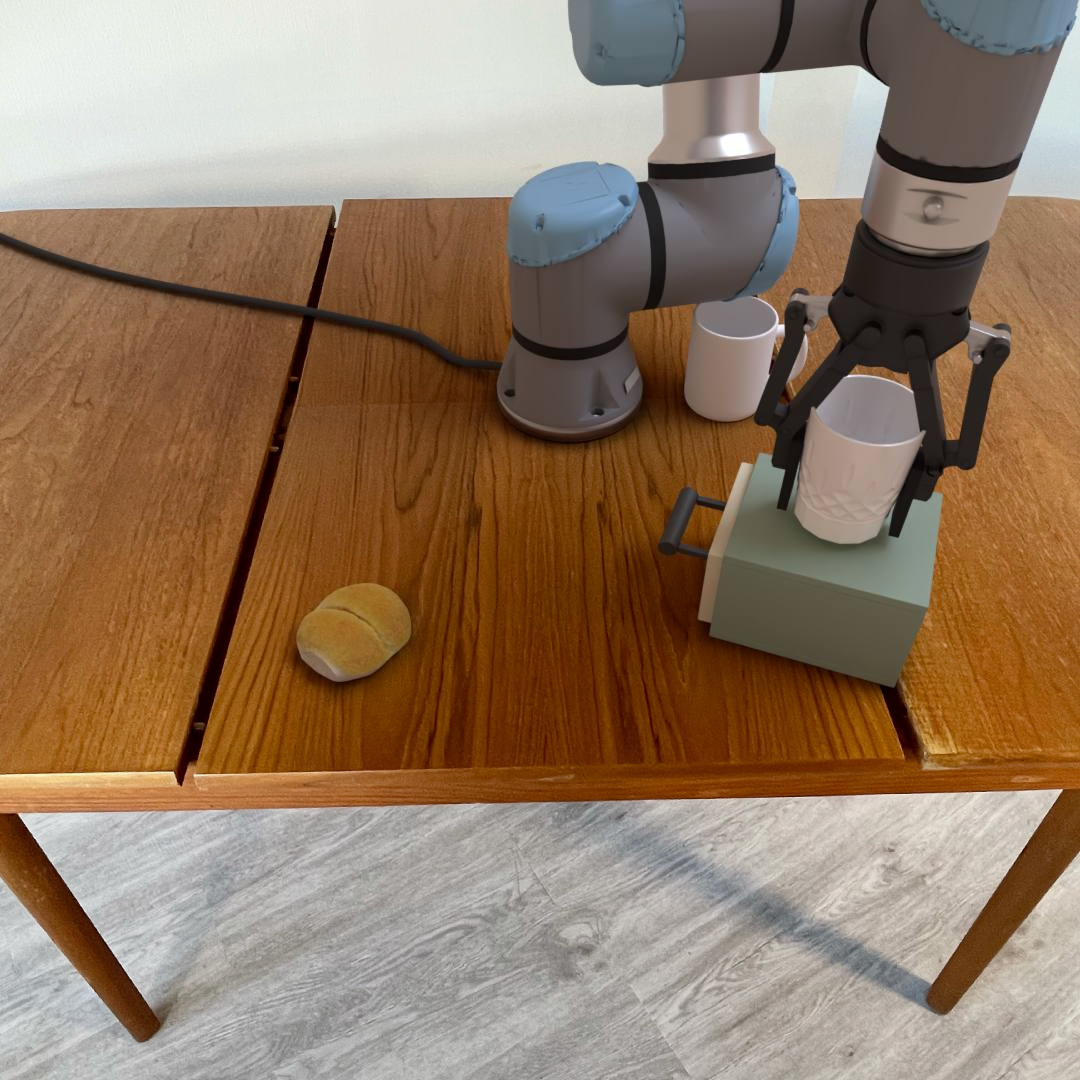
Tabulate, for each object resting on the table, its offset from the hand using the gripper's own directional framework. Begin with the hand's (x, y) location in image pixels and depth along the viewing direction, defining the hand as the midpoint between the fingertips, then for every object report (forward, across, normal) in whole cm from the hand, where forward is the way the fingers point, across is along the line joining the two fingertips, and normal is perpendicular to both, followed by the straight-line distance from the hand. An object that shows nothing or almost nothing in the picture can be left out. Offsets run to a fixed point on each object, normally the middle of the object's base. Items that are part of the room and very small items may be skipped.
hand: (839, 511), depth 70 cm
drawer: (+10, -4, 0) cm, 11 cm away
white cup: (0, 0, 0) cm, 0 cm away
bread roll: (+11, -34, -17) cm, 40 cm away
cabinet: (+11, 0, 0) cm, 11 cm away
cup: (+11, -12, +26) cm, 30 cm away
